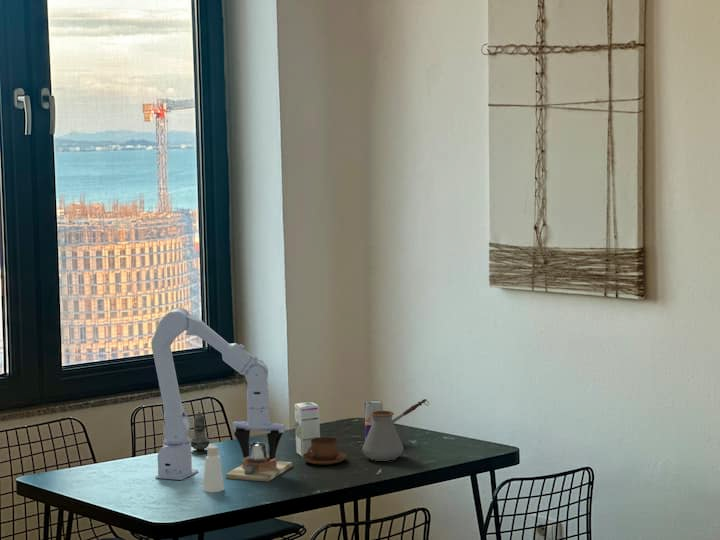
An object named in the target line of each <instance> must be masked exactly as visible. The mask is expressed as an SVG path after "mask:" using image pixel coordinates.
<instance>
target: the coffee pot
mask: <svg viewBox="0 0 720 540" xmlns="http://www.w3.org/2000/svg"><path fill="white" fill-rule="evenodd" d="M426 402H427V403H428V404H426ZM422 404H425V406H429V405H430V402H429V401H428V400H427V399H426V398H424V399H422V400H421V401H417V403H416V404H414V405H411V406H410V407H408V409H406V410H404V412H403V411H402V413H401V414H399V415H398V416H396V417H394V418H393V416H394V415H395V413H394V412H393V411H391V410H383V411H375V412H372V413H371V415H372V417H373V423H372V425H371V428H370V430H369V433H368V435H367V438H366V440H364V442H363V445H362V452H363V454H364V456H366V458H368V459H369V458H370V459H371V460H370V459H369V460H370V461H372V460H377V461H387V460H393V459H396V458H397V459H398V457H400V456H401V455H402V453H403V451H404V445H403V442H402V440H401V439H400V436H399V434H398V432H397V429H396V427H395V424H394V423H396V422H397V421H398V420H400V419H401V418H403V417H406V416H407V415H408V414H410V413H412V412H413V411H415V410H416V409H417V408H419V407H420V406H422ZM397 459H396V460H397Z"/></svg>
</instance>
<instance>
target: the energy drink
mask: <svg viewBox="0 0 720 540" xmlns="http://www.w3.org/2000/svg"><path fill="white" fill-rule="evenodd" d="M383 405H384V404H383V400H379V399H370V400H369V399H368V400H366V401H365V402H364V436H365V437H364V439H365V440H366V438H367V435H368V433H369V430H370V428H371V425H372V423H373V417H372V415H371V413H372V412H375V411H384V406H383ZM365 440H364V441H365Z"/></svg>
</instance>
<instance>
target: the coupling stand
mask: <svg viewBox="0 0 720 540" xmlns="http://www.w3.org/2000/svg"><path fill="white" fill-rule="evenodd" d="M241 461H242V462H241V465H239V466H237V467H236V468H235V467H234V469H232V470H230V471H228V472H226V473H225V479H231V480H244V481H256V482H257V481H258V482H270V481H271V480H273V479H274V478H276V477H278V476H280V475H281V474H282V473H284V472H286V471H287V470H289V469H290V468H292V467H293V462H292V461H281V460H280V461H279V460H277V459H276V457H275V458H274V459H270V458H269V454H267V462H262V463H253V462H251V456H248V457H244V459H242V460H241Z"/></svg>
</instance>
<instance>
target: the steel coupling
mask: <svg viewBox="0 0 720 540" xmlns="http://www.w3.org/2000/svg"><path fill="white" fill-rule="evenodd" d="M249 448H250V457H251V462H253V463H262V462H267V455H268V442H267V443H266V442H258V441H253V442H251V443H249Z"/></svg>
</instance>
